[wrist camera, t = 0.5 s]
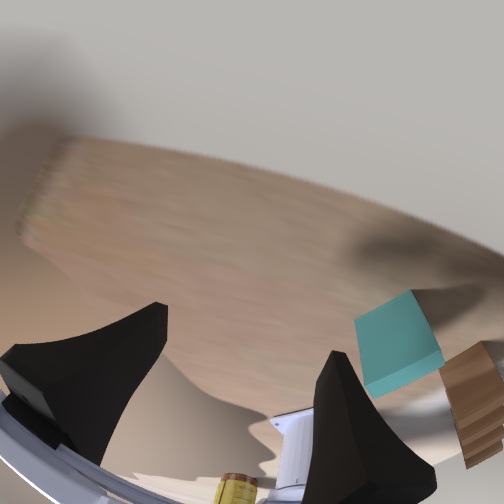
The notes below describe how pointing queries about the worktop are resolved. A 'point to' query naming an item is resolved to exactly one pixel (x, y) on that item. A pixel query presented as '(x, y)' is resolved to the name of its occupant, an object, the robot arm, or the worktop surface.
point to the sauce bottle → (236, 489)
